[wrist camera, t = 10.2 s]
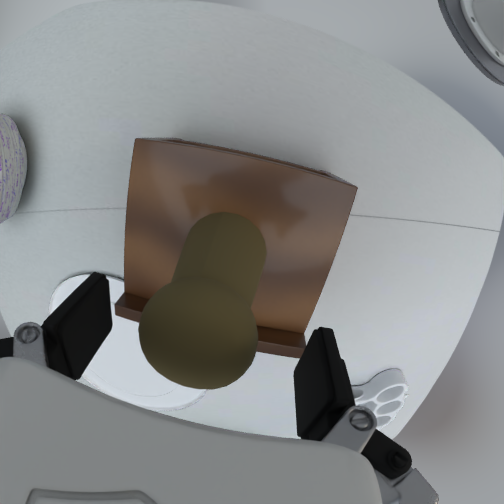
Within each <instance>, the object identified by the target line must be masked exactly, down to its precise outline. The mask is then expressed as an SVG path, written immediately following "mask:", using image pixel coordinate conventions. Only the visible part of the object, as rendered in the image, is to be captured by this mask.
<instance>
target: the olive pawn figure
mask: <svg viewBox="0 0 504 504" xmlns="http://www.w3.org/2000/svg"><path fill="white" fill-rule="evenodd" d="M266 255H267V251H266V244H265V240H264V238H263V236H262V234H261V232H260V230H259V229H258V228H257V227H256V226H255V225H254V224H253V223H252V222H251V221H250V220H248V219H246V218H244V217H242V216H240V215H238V214H234V213H228V212H219V213H213V214H209V215H207V216H205V217H203V218H201V219H200V220H198V221H197V222H196V223H195V224H194V225H193V227H192V228H191V229H190V231H189V233H188V235H187V238H186V240H185V243H184V246H183V248H182V251H181V254H180V257H179V260H178V263H177V265H176V268H175V271H174V274H173V277H172V280H171V283H168V284H166V285H165V286H163V287H162V288H160V289H159V290H158V291H157V292H156V293H155V294H154V295H153V296H152V297H151V298H150V299H149V301H148V302H147V304H146V305H145V307H144V309H143V312H142V315H141V318H140V322H139V327H138V333H139V341H140V345H141V349H142V352H143V354H144V356H145V358H146V359H147V361H148V363H149V364H150V365H151V366H152V367H153V368H154V369H155V370H156V371H157V372H158V373H159V374H161V375H162V376H164V377H165V378H167V379H168V380H170V381H172V382H174V383H177V384H179V385H182V386H184V387H189V388H194V389H217V388H221V387H225V386H227V385H229V384H231V383H233V382H234V381H236V380H238V379H239V378H240V377H241V376H242V375H243V374H244V373H245V372H246V371H247V369H248V368H249V367H250V366H251V364H252V362H253V359H254V357H255V354H256V349H257V345H258V331H257V326H256V320H255V317H254V315H253V312H252V311H251V306H252V303H253V300H254V297H255V294H256V291H257V287H258V284H259V281H260V278H261V275H262V271H263V268H264V265H265V260H266Z"/></svg>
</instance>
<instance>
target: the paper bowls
mask: <svg viewBox="0 0 504 504" xmlns="http://www.w3.org/2000/svg"><path fill="white" fill-rule="evenodd" d="M26 173H27V154H26V149H25V145H24V142H23V140H22V138H21V136H20V134H19V131H18V128H17V126H16V124H15V122H14V121H13V119H12V118H10V117H9V116H8V115H5V114H0V223H2V222H4V221H5V220H7V219H9V218H10V217H12V216H13V214H14V213H15V212H16V210H17V207H18V204H19V202H20V199H21V194H22V190H23V186H24V183H25V179H26Z"/></svg>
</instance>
